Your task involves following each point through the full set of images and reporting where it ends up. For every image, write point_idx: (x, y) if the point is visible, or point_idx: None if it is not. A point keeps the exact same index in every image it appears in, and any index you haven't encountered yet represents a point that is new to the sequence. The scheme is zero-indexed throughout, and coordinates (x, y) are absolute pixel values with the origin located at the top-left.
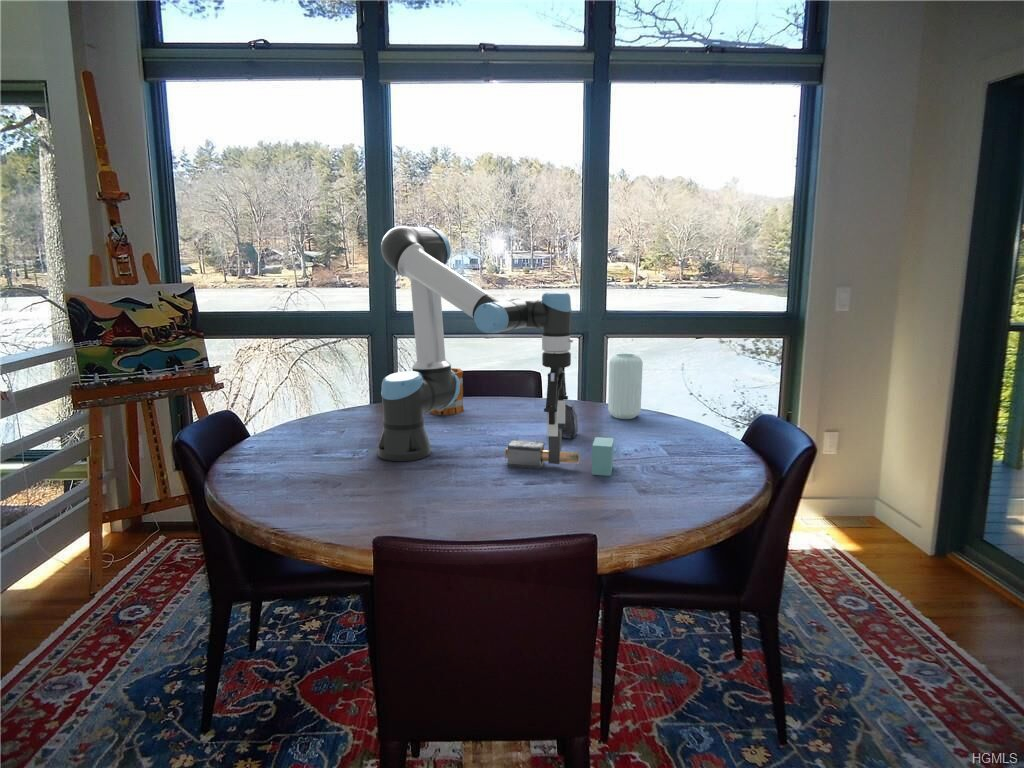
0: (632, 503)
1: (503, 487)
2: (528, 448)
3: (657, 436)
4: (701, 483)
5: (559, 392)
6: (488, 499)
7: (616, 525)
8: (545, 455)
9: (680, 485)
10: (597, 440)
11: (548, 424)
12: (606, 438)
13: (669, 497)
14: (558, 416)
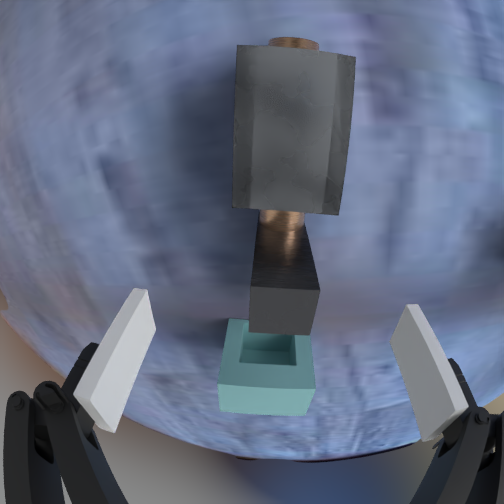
0: None
1: (68, 112)
2: (234, 149)
3: None
4: (229, 429)
5: (429, 487)
6: (12, 114)
7: (35, 327)
8: (261, 211)
9: (211, 415)
10: (276, 393)
11: (110, 337)
12: (301, 406)
13: (154, 398)
14: (413, 344)
